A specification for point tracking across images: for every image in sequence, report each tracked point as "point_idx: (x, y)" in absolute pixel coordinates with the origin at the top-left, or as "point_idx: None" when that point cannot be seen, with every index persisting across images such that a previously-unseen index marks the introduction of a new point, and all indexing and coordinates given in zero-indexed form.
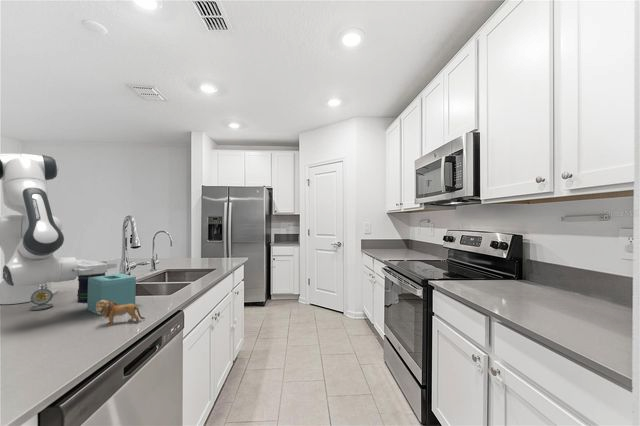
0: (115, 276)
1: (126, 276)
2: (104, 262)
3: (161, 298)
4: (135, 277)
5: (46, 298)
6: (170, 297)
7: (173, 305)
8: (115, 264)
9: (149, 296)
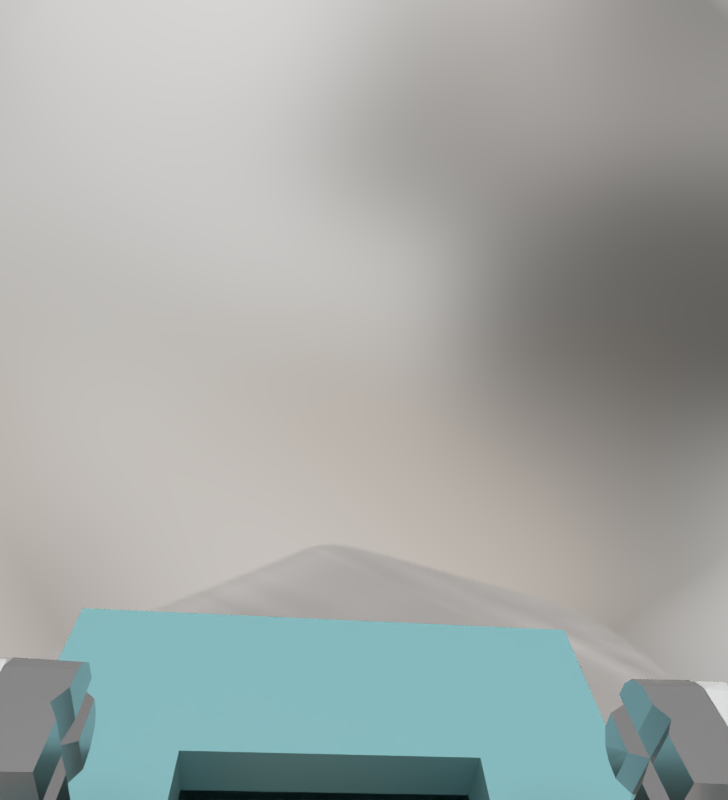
0: (238, 758)
1: (446, 680)
2: (57, 715)
3: (341, 600)
4: (564, 640)
5: None
6: (368, 562)
7: (609, 650)
8: (725, 712)
9: (194, 612)
